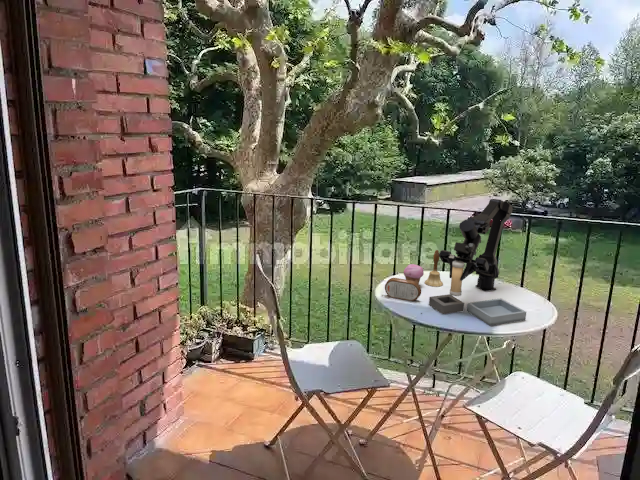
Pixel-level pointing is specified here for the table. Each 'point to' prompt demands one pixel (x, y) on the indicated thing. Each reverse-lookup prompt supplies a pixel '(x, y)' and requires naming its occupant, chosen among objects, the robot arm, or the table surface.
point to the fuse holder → (446, 304)
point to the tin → (403, 289)
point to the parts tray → (496, 312)
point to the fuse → (456, 278)
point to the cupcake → (413, 272)
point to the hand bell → (434, 273)
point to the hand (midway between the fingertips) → (455, 279)
